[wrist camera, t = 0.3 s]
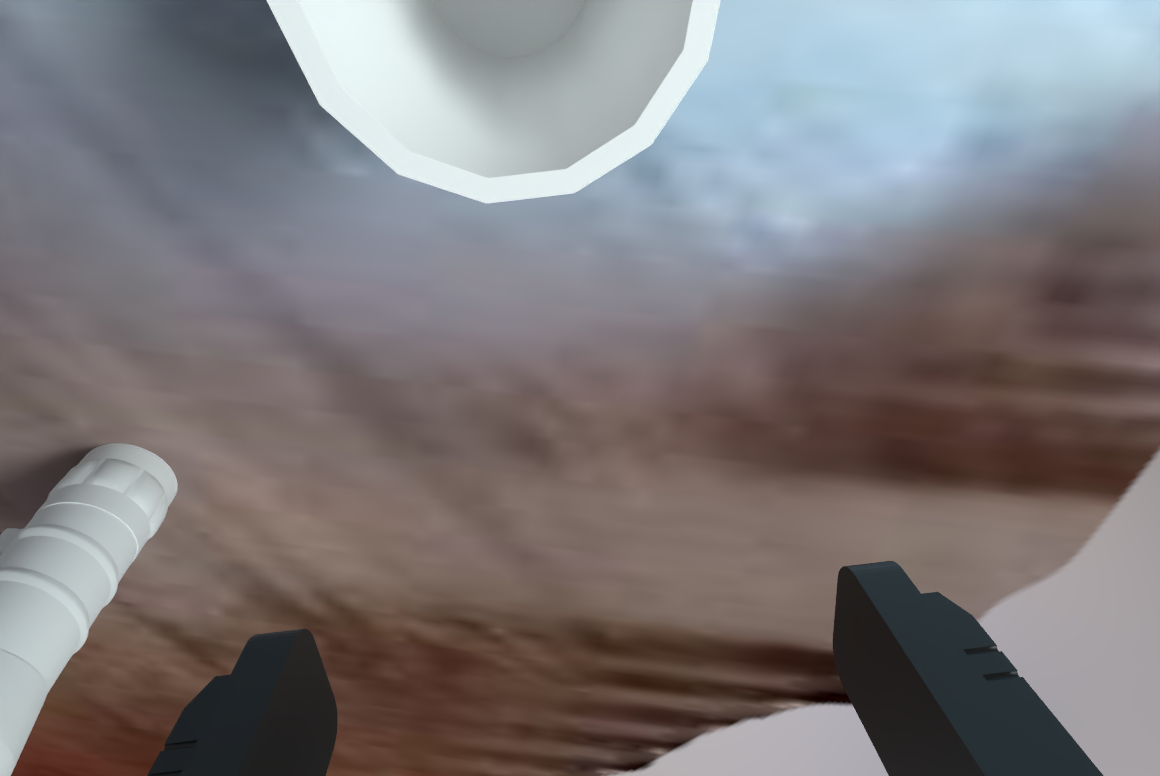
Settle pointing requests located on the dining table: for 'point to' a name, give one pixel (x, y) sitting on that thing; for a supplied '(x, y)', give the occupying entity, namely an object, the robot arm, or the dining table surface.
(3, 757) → the binoculars
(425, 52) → the foam cup
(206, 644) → the dining table surface
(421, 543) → the dining table surface
